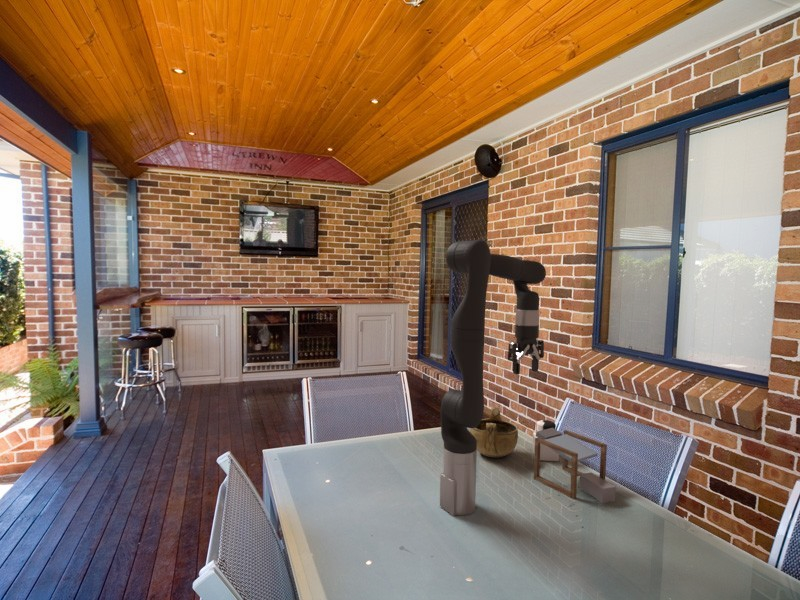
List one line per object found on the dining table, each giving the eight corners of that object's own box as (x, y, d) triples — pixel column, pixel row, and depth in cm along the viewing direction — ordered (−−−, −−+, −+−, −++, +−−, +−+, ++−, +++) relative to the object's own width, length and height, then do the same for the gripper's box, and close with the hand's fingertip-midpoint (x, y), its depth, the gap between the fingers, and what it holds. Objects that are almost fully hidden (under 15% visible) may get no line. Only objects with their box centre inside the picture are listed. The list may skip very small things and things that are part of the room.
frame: (573, 499, 134) (575, 454, 133) (533, 478, 147) (535, 438, 146) (605, 486, 142) (606, 444, 141) (564, 468, 155) (566, 430, 154)
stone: (579, 488, 141) (602, 503, 132) (579, 474, 141) (603, 488, 131) (590, 486, 142) (614, 501, 133) (591, 472, 142) (615, 486, 133)
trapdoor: (572, 464, 136) (573, 460, 135) (530, 437, 149) (531, 432, 149) (597, 456, 142) (598, 452, 142) (556, 430, 156) (556, 426, 155)
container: (553, 453, 168) (554, 418, 167) (558, 461, 160) (559, 425, 160) (532, 452, 169) (533, 417, 168) (536, 460, 161) (537, 424, 160)
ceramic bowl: (474, 441, 179) (475, 403, 178) (518, 446, 174) (519, 408, 173) (465, 463, 158) (466, 421, 157) (516, 470, 153) (517, 426, 152)
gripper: (533, 321, 154) (531, 368, 155) (502, 323, 147) (501, 372, 148) (551, 323, 148) (549, 372, 149) (520, 325, 140) (518, 377, 141)
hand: (525, 372), depth 148 cm, fingers open, 8 cm apart
